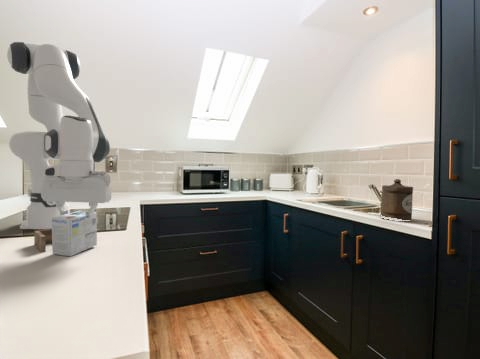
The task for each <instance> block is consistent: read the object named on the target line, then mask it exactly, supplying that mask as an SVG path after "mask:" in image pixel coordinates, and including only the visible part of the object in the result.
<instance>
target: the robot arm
mask: <svg viewBox="0 0 480 359" xmlns="http://www.w3.org/2000/svg"><path fill="white" fill-rule="evenodd" d="M6 57H7V61H8V63H9V64H10V67H11V68H12V69H13V70H14V71H15V72H17V73H20V74H24V75H26V74H27V75H28V78H27V101H28V102H27V103H28V114H29V116H30V117H31V119H33V120H34V121H36V122H37V123H39V124H42V125H44V127H45V128H46V130H47V131H46V132H45V131H30V130H29V131H20V132H15V133H14V134H13V135H12V136H11V137H10V139H9V143H8V144H9V146H8V147H9V149H10V151H11V153H12V154H13V155H15V156H16V157H17V158H19V159H20V160H21V161H23V163H24V164H25V165H26V167H27V169H28V171H29V174H30V180H31V181H30V182H31V183H30V184H31V193H30V195H29V198H30V199H29V202H30V204H29V205H28V206H27V207H26V209H24V211H22V217H23V218H24V219H23V220H22V221H21V223H20V225H19V229H20V230H46V229H52V217H57V216H61V215H65V214H68V213H71V211H70V210H71V209H70V205H69V203H88V207H89V210H88V212H86V218H92V217H94V212H96V211H95V210H96V209H97V208H98V206H99V204H107V203H109V202H110V201H111V200H112V189H111V188H112V187H111V176H110V174H109V173H107V172H106V171H99V170H98V171H97V170H95V171H94V167H95V166H94V165H95V164H94V163H100V162H102V161H104V159H106V158H107V157H108V156H109V155H110V154H109V153H110V151H111V150H110V149H111V146H110V142H109V139H108V138H107V136H106V134H105V133H104V131H103V129H102V126H101V124H100V122H99V120H98V117H97V114H96V112H95V109H94V107H93V105H92V103H91V100H90V98H89V97H88V95H87V94H86V93H85V92H84V91H82V89H81V88H80V87H79V86H78V85H77V83H76V81H75V79H77V78H78V77H79V76H80V72H81V61H80V59H79V57H78V56H77V54H76V53H74V52H72V51H69V50H66V49H65V50H63V49H61V48H59V47H58V46H56V45H53V44H50V43H44V44H34V43H25V42H22V41H14V42H12V43H10V44H9V47H8V49H7V53H6ZM63 107H64V108H67V109H68V110H70V111H72V112H73V113H75V114H76V115H77V116H76V115H64V112H63ZM49 160H59V161H58V164H55V165H51V164H50V163H49Z"/></svg>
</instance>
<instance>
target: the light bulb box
mask: <svg viewBox="0 0 480 359" xmlns="http://www.w3.org/2000/svg"><path fill="white" fill-rule="evenodd" d="M88 211H89V210H88ZM88 211H87V210H77V211H74V212H73V211H72V212H70V213H68V214H65V215H61V216H57V217H52V228H51V229H52V243H51V244H52V247H51V248H52V250H51V251H52V253H51V254H52V255H60V256H64V257H65V256H67V257H72V256H75V255H77V254H79V253H82V252H83V251H87V250H88V249H90V248H93V247H96V246H97V244H98V243H97V240H98V236H97V235H98V233H97V232H98V230H97V229H98V228H97V226H98V225H97V224H98V222H97V220H98V213H97V212H96V211H94V217H92V218H86V212H88Z"/></svg>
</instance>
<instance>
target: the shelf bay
mask: <svg viewBox="0 0 480 359" xmlns="http://www.w3.org/2000/svg"><path fill="white" fill-rule="evenodd" d="M33 236H34V237H33V238H34V239H33V240H34V246H35V247H36V248H37V249H38V251H40V253H45V252H46V245H47V244H52V228H51V229H37V230H34V235H33Z"/></svg>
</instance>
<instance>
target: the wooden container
mask: <svg viewBox="0 0 480 359" xmlns="http://www.w3.org/2000/svg"><path fill="white" fill-rule="evenodd" d="M401 182H402V180H401V179H399V178H396V179H394V180H393V184H391V185H387V184H386V185H382V187H381V201H380V202H381V203H380V216H381V215H382V216H385V217H391V218H397V219H402V220H411V221H412V219H413V218H412V217H413V197H414V196H413V192H414V186H410V185H409V186H407V185H403V184H402V183H401Z"/></svg>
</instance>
